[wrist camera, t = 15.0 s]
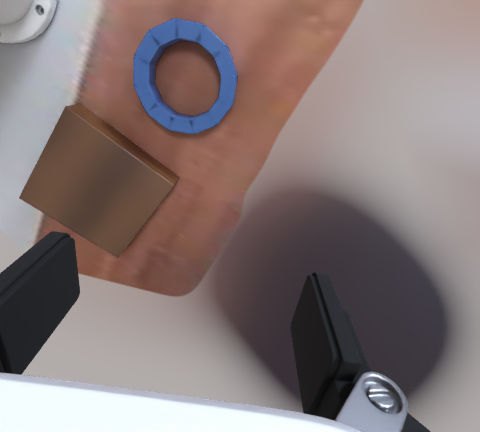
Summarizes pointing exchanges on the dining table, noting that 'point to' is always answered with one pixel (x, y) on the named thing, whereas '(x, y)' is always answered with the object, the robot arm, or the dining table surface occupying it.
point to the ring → (146, 70)
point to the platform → (96, 181)
